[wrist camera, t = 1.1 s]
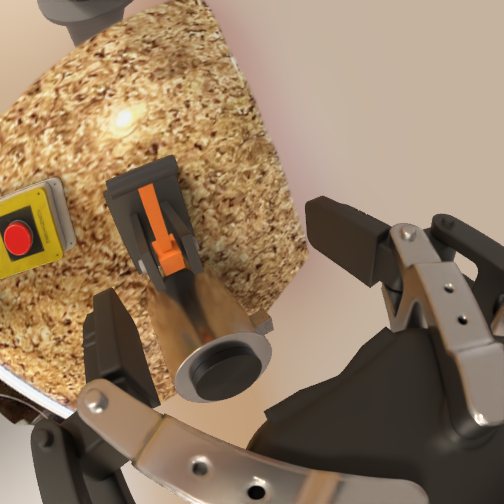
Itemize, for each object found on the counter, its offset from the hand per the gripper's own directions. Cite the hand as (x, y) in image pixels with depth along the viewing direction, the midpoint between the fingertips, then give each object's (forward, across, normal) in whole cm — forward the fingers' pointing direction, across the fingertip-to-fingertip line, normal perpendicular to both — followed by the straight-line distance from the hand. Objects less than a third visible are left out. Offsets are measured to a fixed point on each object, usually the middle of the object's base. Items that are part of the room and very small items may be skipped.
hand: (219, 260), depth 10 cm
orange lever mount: (+25, +1, +8) cm, 26 cm away
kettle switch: (+14, +1, +3) cm, 15 cm away
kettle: (+25, 0, +22) cm, 33 cm away
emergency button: (+25, +18, +1) cm, 31 cm away
